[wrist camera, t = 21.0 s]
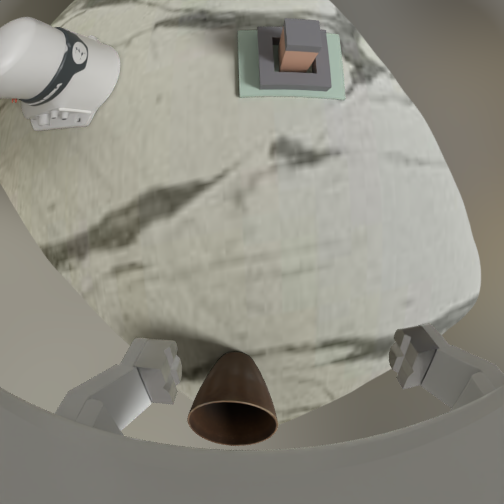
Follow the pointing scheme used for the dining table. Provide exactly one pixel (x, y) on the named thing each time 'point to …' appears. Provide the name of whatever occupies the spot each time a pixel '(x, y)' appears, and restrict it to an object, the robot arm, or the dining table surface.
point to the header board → (253, 69)
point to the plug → (298, 45)
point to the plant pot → (233, 404)
